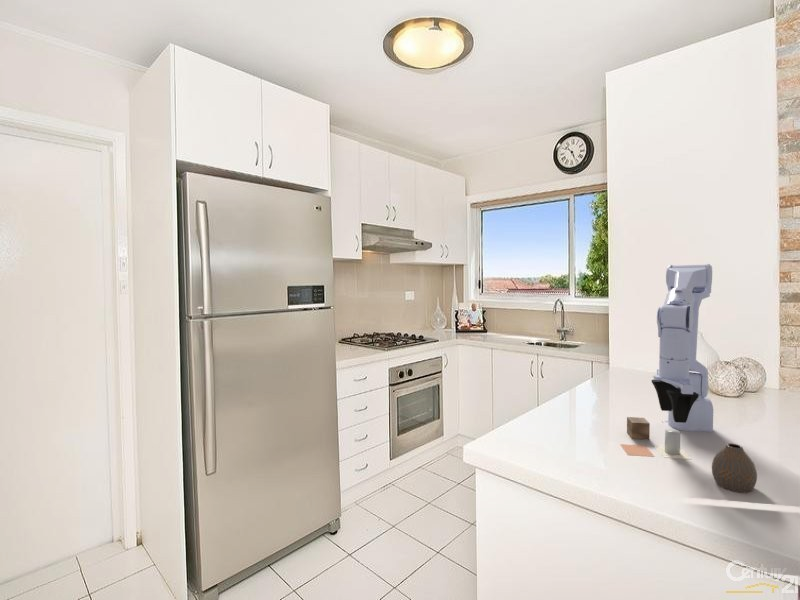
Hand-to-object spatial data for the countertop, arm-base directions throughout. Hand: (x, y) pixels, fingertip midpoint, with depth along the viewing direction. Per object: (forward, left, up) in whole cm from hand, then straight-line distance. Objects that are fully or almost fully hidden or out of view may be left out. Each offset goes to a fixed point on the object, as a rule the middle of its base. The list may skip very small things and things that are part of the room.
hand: (673, 416), depth 96 cm
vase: (-5, +14, -10) cm, 18 cm away
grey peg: (0, 0, -9) cm, 9 cm away
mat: (+4, 0, -9) cm, 10 cm away
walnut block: (+5, -9, -10) cm, 14 cm away
